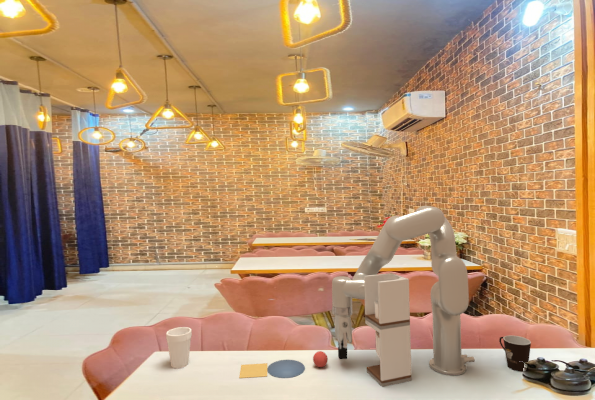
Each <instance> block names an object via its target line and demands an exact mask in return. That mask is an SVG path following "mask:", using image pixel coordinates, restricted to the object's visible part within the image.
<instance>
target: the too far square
mask: <svg viewBox="0 0 595 400" xmlns="http://www.w3.org/2000/svg"><path fill="white" fill-rule="evenodd" d="M267 368H268V362H267V363H266V362H265V363H249V364H241V365H240V370H239V377H238V378H239V379H249V378H252V379H253V378H264V377H268V371H267Z"/></svg>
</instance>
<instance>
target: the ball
mask: <svg viewBox="0 0 595 400" xmlns="http://www.w3.org/2000/svg"><path fill="white" fill-rule="evenodd" d="M312 361H313V364H314V365H315V366H316V367H317V368H323V367H325V366H326V365H327V364H328V361H329V359H328V355H327V354H326V353H325V352H324V351H320V350H319V351H316V352H315V353H314V354H313V357H312Z"/></svg>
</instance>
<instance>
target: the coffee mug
mask: <svg viewBox="0 0 595 400" xmlns="http://www.w3.org/2000/svg"><path fill="white" fill-rule="evenodd" d="M502 339H503V343H502ZM498 341H499V344H500V346H501V347H502V349H503V351H504V353H505V359H506V366H507V367H508V368H509V369H510V370H513V371H515V372H523V368H524V363H523V362H528V361H530V356H531V355H530V354H531V345H532V342H531V341H532V340H530V339H528V338H526V337H524V336H519V335H505V336H500V337H499V340H498ZM519 361H523V362H519ZM523 373H524V372H523Z"/></svg>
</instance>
